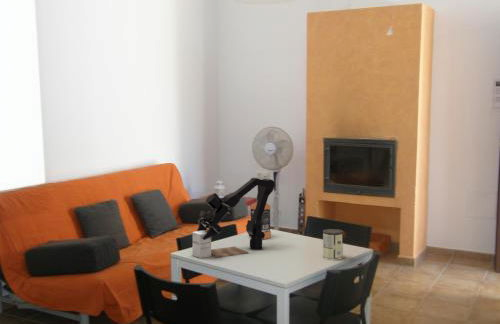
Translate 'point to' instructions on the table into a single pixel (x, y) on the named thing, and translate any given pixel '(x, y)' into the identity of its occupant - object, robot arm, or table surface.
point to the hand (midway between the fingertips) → (199, 237)
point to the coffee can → (332, 244)
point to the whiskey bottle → (263, 217)
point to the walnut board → (227, 252)
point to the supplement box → (201, 245)
